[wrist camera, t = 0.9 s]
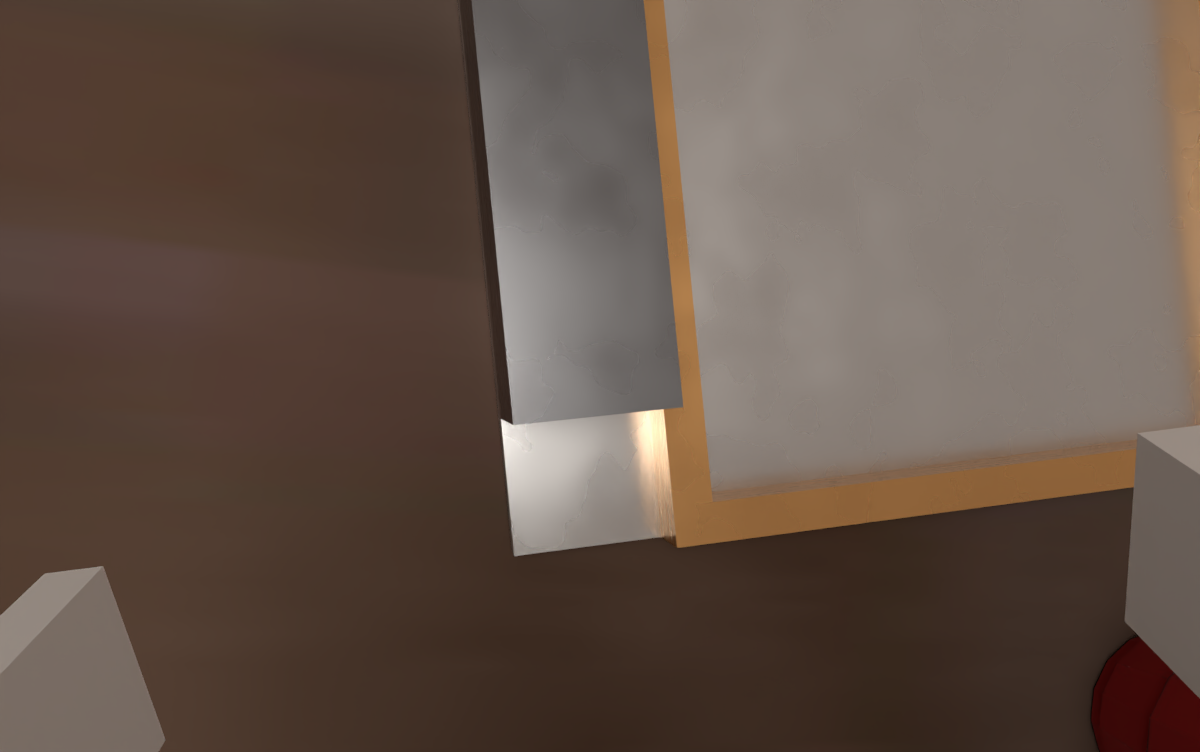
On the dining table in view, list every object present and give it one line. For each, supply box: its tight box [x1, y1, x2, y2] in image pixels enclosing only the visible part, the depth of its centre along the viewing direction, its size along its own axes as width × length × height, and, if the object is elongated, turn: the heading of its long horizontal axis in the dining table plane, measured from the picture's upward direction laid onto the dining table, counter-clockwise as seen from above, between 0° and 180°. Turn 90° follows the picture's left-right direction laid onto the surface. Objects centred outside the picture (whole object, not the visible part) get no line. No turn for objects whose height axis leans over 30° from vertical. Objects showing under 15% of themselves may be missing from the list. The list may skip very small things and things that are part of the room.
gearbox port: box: [457, 0, 1200, 556], centre depth 28 cm, size 22×27×6 cm
